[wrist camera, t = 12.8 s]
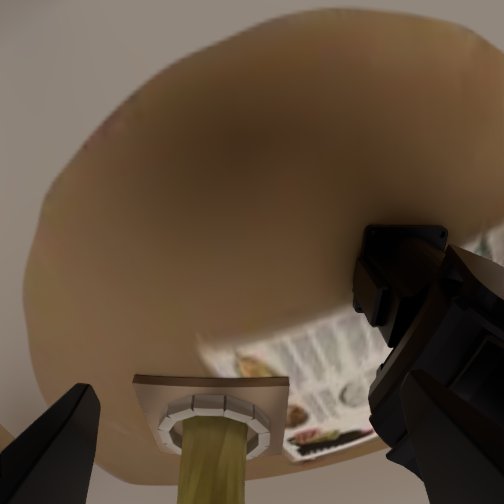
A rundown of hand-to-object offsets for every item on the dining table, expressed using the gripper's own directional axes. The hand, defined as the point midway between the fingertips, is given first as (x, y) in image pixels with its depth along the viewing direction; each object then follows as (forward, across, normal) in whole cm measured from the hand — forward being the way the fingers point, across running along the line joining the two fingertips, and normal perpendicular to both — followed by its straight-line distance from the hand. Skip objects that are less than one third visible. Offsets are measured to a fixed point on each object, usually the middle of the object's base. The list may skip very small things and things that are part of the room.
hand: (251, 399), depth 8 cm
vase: (+12, +3, +19) cm, 23 cm away
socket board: (+13, +3, +19) cm, 23 cm away
